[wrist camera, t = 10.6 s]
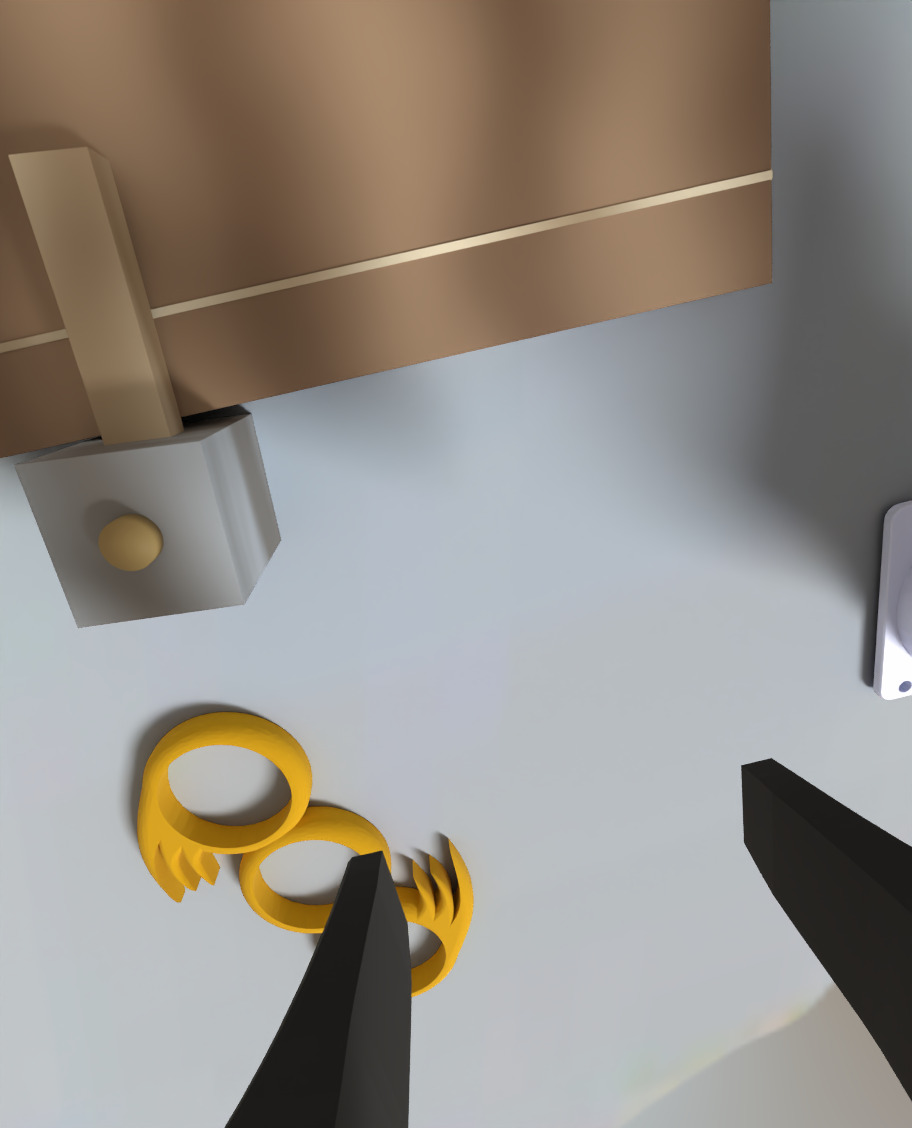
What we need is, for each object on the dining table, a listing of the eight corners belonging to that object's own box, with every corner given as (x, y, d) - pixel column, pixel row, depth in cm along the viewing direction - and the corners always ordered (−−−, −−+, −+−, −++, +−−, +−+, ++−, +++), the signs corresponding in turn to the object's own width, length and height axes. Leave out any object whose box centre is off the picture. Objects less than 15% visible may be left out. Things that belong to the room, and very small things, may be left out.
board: (718, -170, 14) (769, -251, 12) (732, 288, 18) (773, 282, 16) (-290, 50, 14) (-402, 3, 12) (-62, 468, 17) (-118, 485, 15)
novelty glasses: (337, 1010, 28) (519, 915, 27) (333, 1047, 26) (526, 948, 25) (77, 780, 22) (295, 647, 21) (54, 811, 21) (288, 669, 20)
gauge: (197, 180, 15) (98, 103, 10) (281, 539, 19) (239, 613, 14) (40, 197, 15) (-138, 127, 10) (156, 556, 19) (67, 637, 14)
